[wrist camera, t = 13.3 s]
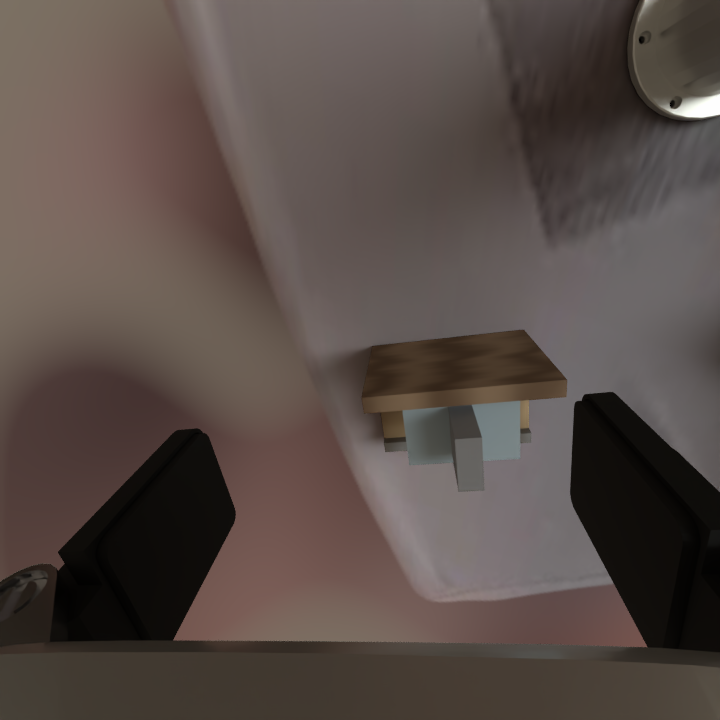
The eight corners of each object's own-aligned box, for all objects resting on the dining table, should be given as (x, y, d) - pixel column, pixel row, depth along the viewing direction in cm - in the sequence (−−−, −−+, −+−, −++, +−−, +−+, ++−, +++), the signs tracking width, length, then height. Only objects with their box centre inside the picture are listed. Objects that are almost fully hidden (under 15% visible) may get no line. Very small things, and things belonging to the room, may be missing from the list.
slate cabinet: (499, 354, 40) (538, 422, 28) (500, 413, 43) (537, 498, 31) (401, 363, 42) (400, 431, 30) (408, 420, 44) (410, 503, 32)
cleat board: (523, 329, 41) (567, 379, 30) (523, 427, 45) (561, 502, 34) (372, 346, 43) (361, 397, 32) (386, 437, 48) (380, 509, 37)
